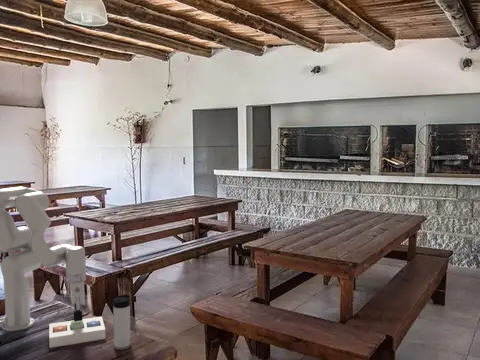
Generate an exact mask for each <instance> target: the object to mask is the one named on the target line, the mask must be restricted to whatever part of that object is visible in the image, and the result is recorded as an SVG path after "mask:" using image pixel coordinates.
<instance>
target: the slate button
mask: <svg viewBox="0 0 480 360" xmlns="http://www.w3.org/2000/svg"><path fill="white" fill-rule="evenodd" d="M95 326H99V321H91V322H89V323H88V327H95Z"/></svg>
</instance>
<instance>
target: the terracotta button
mask: <svg viewBox="0 0 480 360" xmlns="http://www.w3.org/2000/svg"><path fill="white" fill-rule="evenodd" d="M62 331H66V326H57V327H55V328H54V333H55V332H62Z"/></svg>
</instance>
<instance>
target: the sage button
mask: <svg viewBox="0 0 480 360" xmlns="http://www.w3.org/2000/svg"><path fill="white" fill-rule="evenodd" d="M71 321H72V322H71V330H75V329H82V328H83V320H82V321H76V322H75V321H73V320H71Z"/></svg>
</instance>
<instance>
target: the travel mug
mask: <svg viewBox="0 0 480 360" xmlns="http://www.w3.org/2000/svg"><path fill="white" fill-rule="evenodd" d="M130 298H131V297H130V295H129V294H121V295H117V296H115V297H114V298H113V300H112V301H113V348H114V349H115V350H118V351H119V350H121V351H122V350H127V349H129V348H130V346H131V302H130V301H131V299H130Z"/></svg>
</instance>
